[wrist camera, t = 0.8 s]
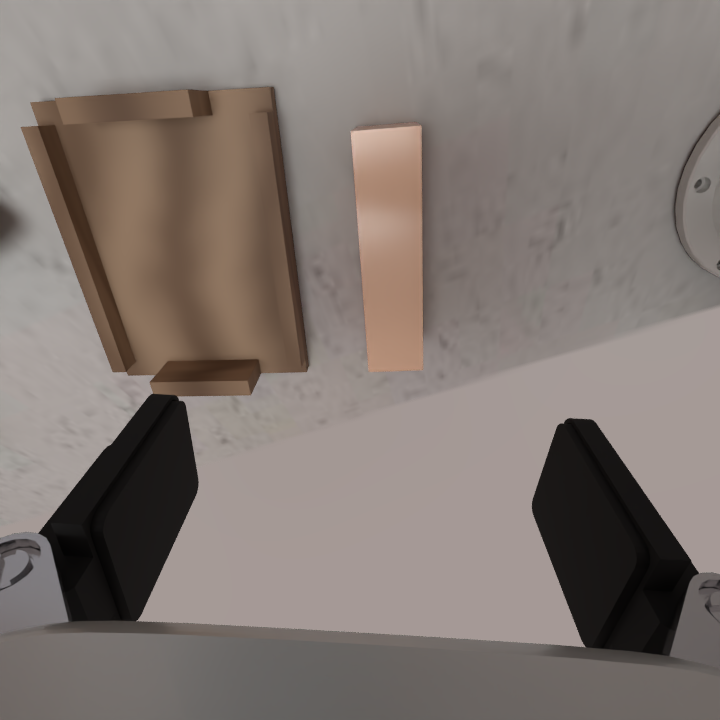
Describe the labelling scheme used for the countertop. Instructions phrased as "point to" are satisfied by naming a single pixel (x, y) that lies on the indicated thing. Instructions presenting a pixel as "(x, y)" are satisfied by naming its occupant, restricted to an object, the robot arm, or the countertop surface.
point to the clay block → (390, 242)
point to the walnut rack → (177, 232)
